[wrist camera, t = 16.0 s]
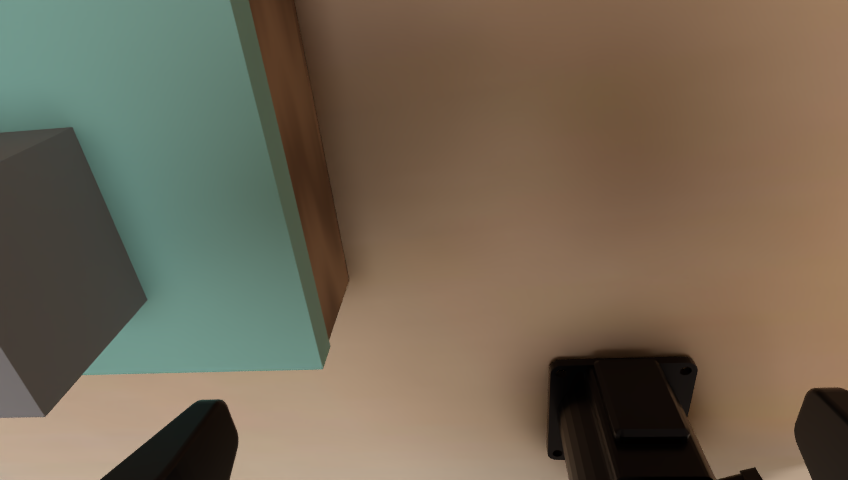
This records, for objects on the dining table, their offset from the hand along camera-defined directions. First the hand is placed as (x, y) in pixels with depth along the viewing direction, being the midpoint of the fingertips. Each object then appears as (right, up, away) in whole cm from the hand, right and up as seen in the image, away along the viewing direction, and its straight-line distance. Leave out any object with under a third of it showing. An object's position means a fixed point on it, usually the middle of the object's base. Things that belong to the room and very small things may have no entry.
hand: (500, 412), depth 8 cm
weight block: (-13, +3, +8) cm, 16 cm away
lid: (-13, +4, +9) cm, 17 cm away
